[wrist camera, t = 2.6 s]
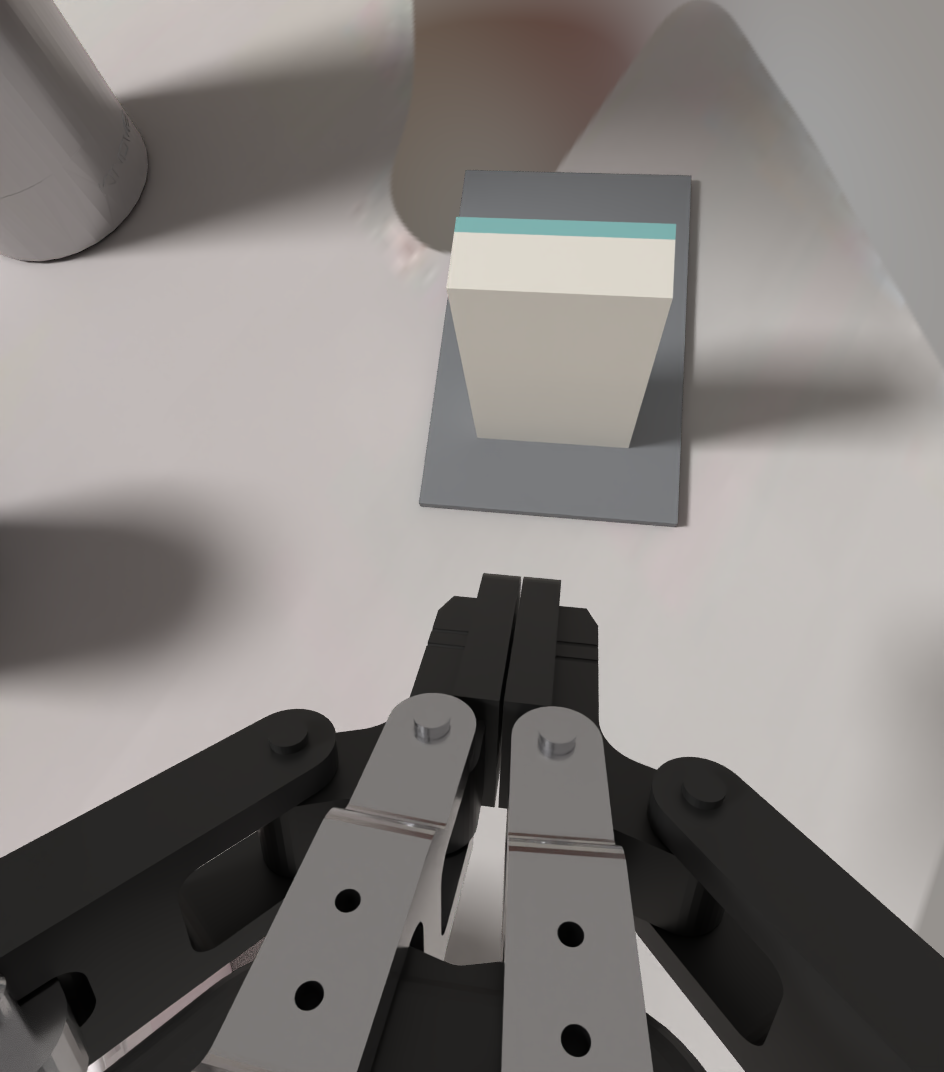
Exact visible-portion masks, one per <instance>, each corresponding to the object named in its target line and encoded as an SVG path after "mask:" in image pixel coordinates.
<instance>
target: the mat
mask: <svg viewBox="0 0 944 1072" xmlns="http://www.w3.org/2000/svg"><path fill="white" fill-rule="evenodd" d="M690 197H691V176H686V175H646V174H605V173H565V172H524V171H522V172H521V171H483V170H480V171H479V170H466V171H465V178H464V186H463V192H462V200H461V207H460V214H459V217H477V218H508V219H539V220H570V221H600V222H631V223H662V224H676V238H675V260H674V282H673V299H672V302H671V306H670V309H669V313H668V316H667V319H666V323H665V326H664V329H663V333H662V336H661V340H660V343H659V346H658V350H657V353H656V357H655V360H654V363H653V367H652V370H651V373H650V377H649V380H648V384H647V387H646V390H645V394H644V397H643V400H642V404H641V407H640V411H639V414H638V417H637V421H636V424H635V428H634V431H633V434H632V438H631V441H630V444H629V448H618V447H603V446H589V445H574V444H560V443H545V442H531V441H516V440H502V439H487V438H477V434H476V429H475V424H474V419H473V415H472V410H471V405H470V400H469V395H468V390H467V386H466V381H465V376H464V371H463V366H462V361H461V356H460V352H459V347H458V342H457V337H456V332H455V327H454V323H453V318H452V313H451V308H450V303H449V298H448V299H447V307H446V314H445V321H444V328H443V335H442V342H441V349H440V357H439V364H438V371H437V378H436V385H435V392H434V399H433V407H432V414H431V421H430V428H429V435H428V442H427V449H426V456H425V464H424V471H423V478H422V485H421V492H420V499H419V504H420V506H423V507H435V508H448V509H460V510H473V511H485V512H497V513H510V514H522V515H534V516H547V517H559V518H572V519H584V520H596V521H609V522H621V523H633V524H646V525H658V526H671V527H676V526H677V524H678V500H679V475H680V450H681V424H682V399H683V374H684V349H685V323H686V298H687V273H688V248H689V222H690Z"/></svg>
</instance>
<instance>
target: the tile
mask: <svg viewBox="0 0 944 1072" xmlns="http://www.w3.org/2000/svg"><path fill="white" fill-rule="evenodd" d="M675 238H676V224H662V223H631V222H600V221H570V220H539V219H508V218H477V217H456V224H455V231H454V238H453V245H452V252H451V259H450V266H449V273H448V280H447V287H446V289H447V294H448V298H449V303H450V308H451V313H452V318H453V323H454V327H455V332H456V337H457V342H458V347H459V352H460V356H461V361H462V366H463V371H464V376H465V381H466V386H467V390H468V395H469V400H470V405H471V410H472V415H473V419H474V424H475V429H476V434H477V438H487V439H502V440H516V441H531V442H545V443H560V444H574V445H589V446H603V447H618V448H629V444H630V441H631V438H632V434H633V431H634V428H635V424H636V421H637V417H638V414H639V411H640V407H641V404H642V400H643V397H644V394H645V390H646V387H647V384H648V380H649V377H650V373H651V370H652V367H653V363H654V360H655V357H656V353H657V350H658V346H659V343H660V340H661V336H662V333H663V329H664V326H665V323H666V319H667V316H668V313H669V309H670V306H671V302H672V299H673V282H674V260H675Z"/></svg>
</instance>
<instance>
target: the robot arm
mask: <svg viewBox="0 0 944 1072" xmlns="http://www.w3.org/2000/svg"><path fill="white" fill-rule="evenodd" d="M147 170H148V160H147V150H146V147H145V145H144V142H143V139H142V137H141V135H140V133H139V132H138V130H137V129H136V127H135V126H134V124H133V123H132V121H131V120H130V118H129V117H128V115H127V113H126V112H125V110H124V109H123V107H122V106H121V104H120V103H119V101H118V100H117V98H116V97H115V95H114V94H113V92H112V91H111V89H110V88H109V86H108V84H107V83H106V81H105V80H104V78H103V77H102V75H101V74H100V72H99V71H98V69H97V68H96V66H95V64H94V63H93V61H92V59H91V58H90V56H89V55H88V53H87V52H86V50H85V49H84V47H83V46H82V44H81V43H80V41H79V40H78V38H77V37H76V35H75V33H74V32H73V30H72V29H71V27H70V26H69V24H68V23H67V21H66V20H65V18H64V17H63V15H62V14H61V12H60V11H59V9H58V8H57V6H56V4H55V3H54V1H53V0H0V254H2V255H3V256H7V257H11V258H14V259H18V260H26V261H44V260H52V259H59V258H62V257H65V256H68V255H72V254H75V253H78V252H80V251H82V250H84V249H86V248H88V247H90V246H92V245H94V244H96V243H97V242H99V241H100V240H102V239H103V238H104V237H106V236H107V235H108V234H110V233H111V232H112V231H114V230H115V229H116V228H117V227H118V226H119V224H120V223H121V222H122V221H123V220H124V219H125V218H126V217H127V216H128V215H129V213H130V212H131V210H132V209H133V207H134V206H135V204H136V203H137V201H138V200H139V197H140V195H141V192H142V190H143V187H144V185H145V182H146V176H147ZM560 588H561V580H554V579H543V578H532V577H524V578H523V584H522V590H521V577H520V576H509V575H498V574H487V573H484V574H483V576H482V580H481V584H480V588H479V592H478V596H477V598H470V597H459V596H454V597H452V598H451V599H450V600H449V601H448V602H447V603H446V604H445V605H444V606H443V607H441V608H440V609H439V610H438V613H437V616H436V619H435V622H434V625H433V629H432V631H431V634H430V637H429V640H428V646H426V650H425V653H424V656H423V659H422V662H421V665H420V668H419V671H418V674H417V677H416V680H415V683H414V686H413V689H412V692H411V695H410V698H408V699H406V700H404V701H402V702H401V703H400V704H398V705H397V706H396V707H395V708H394V709H393V710H392V712H391V714H390V715H389V718H388V720H387V722H385V723H383V724H381V725H378V726H375V727H371V728H367V729H361V730H354V731H346V732H338V733H336V732H335V728H334V726H333V724H332V723H331V722H330V721H329V719H328V718H326V717H325V716H324V715H322V714H320V713H318V712H315V711H311V710H306V709H290V710H284V711H280V712H277V713H274V714H271V715H269V716H267V717H265V718H263V719H261V720H259V721H257V722H255V723H254V724H252V725H250V726H248V727H246V728H244V729H242V730H240V731H239V732H237V733H235V734H233V735H231V736H229V737H227V738H225V739H223V740H222V741H220V742H218V743H216V744H214V745H212V746H210V747H208V748H207V749H205V750H203V751H201V752H199V753H197V754H195V755H193V756H192V757H190V758H188V759H186V760H184V761H182V762H180V763H178V764H177V765H175V766H173V767H171V768H169V769H167V770H165V771H163V772H161V773H160V774H158V775H156V776H154V777H152V778H150V779H148V780H146V781H145V782H143V783H141V784H139V785H137V786H135V787H133V788H131V789H130V790H128V791H126V792H124V793H122V794H120V795H118V796H116V797H114V798H113V799H111V800H109V801H107V802H105V803H103V804H101V805H99V806H98V807H96V808H94V809H92V810H90V811H88V812H86V813H84V814H83V815H81V816H79V817H77V818H75V819H73V820H71V821H69V822H68V823H66V824H64V825H62V826H60V827H58V828H56V829H54V830H52V831H51V832H49V833H47V834H45V835H43V836H41V837H39V838H37V839H36V840H34V841H32V842H30V843H28V844H26V845H24V846H22V847H21V848H19V849H17V850H15V851H13V852H11V853H9V854H7V855H5V856H4V857H2V858H0V1072H87V1070H88V1066H90V1065H91V1064H92V1063H94V1062H95V1061H96V1060H98V1059H99V1058H101V1057H102V1056H103V1055H105V1054H106V1053H107V1052H109V1051H110V1050H111V1049H113V1048H114V1047H115V1046H117V1045H118V1044H120V1043H121V1042H122V1041H124V1040H125V1039H126V1038H128V1037H129V1036H130V1035H132V1034H133V1033H134V1032H136V1031H137V1030H139V1029H140V1028H141V1027H143V1026H144V1025H145V1024H147V1023H148V1022H149V1021H151V1020H152V1019H153V1018H155V1017H156V1016H158V1015H159V1014H160V1013H162V1012H163V1011H164V1010H166V1009H167V1008H168V1007H170V1006H171V1005H172V1004H174V1003H175V1002H177V1001H178V1000H179V999H181V998H182V997H183V996H185V995H186V994H187V993H189V992H190V991H191V990H193V989H194V988H196V987H197V986H198V985H200V984H201V983H202V982H204V981H205V980H206V979H208V978H209V977H211V976H212V975H213V974H215V973H216V972H217V971H219V970H220V969H221V968H223V967H224V966H225V965H227V964H228V963H230V962H231V961H232V960H234V959H235V958H236V957H238V956H239V955H240V954H242V953H243V952H244V951H246V950H247V949H249V948H250V947H251V946H253V945H254V944H255V943H257V942H258V941H259V940H261V939H262V938H263V937H265V936H266V937H265V939H264V941H263V943H262V945H261V947H260V949H259V952H258V954H257V956H256V958H255V960H254V961H252V962H250V963H248V964H246V965H244V966H242V967H240V968H238V969H237V970H235V971H233V972H232V973H230V974H229V975H227V976H225V977H224V978H222V979H221V980H219V981H218V982H217V983H215V984H214V985H212V986H211V987H210V988H209V989H207V990H206V991H205V992H203V993H202V994H201V995H200V996H198V997H197V998H196V999H195V1000H193V1001H192V1002H191V1003H190V1004H188V1005H187V1006H186V1007H184V1008H183V1009H182V1010H181V1011H179V1012H178V1013H177V1014H176V1015H174V1016H173V1017H172V1018H171V1019H169V1020H168V1021H167V1022H165V1023H164V1024H163V1025H162V1026H160V1027H159V1028H158V1029H157V1030H155V1031H154V1032H153V1033H152V1034H150V1035H149V1036H148V1037H146V1038H145V1039H144V1040H143V1041H141V1042H140V1043H139V1044H138V1045H136V1046H135V1047H134V1048H133V1049H131V1050H130V1051H129V1052H127V1053H126V1054H125V1055H124V1056H122V1057H121V1058H120V1059H119V1060H117V1061H116V1062H115V1063H114V1064H112V1065H111V1066H110V1067H108V1068H107V1069H106V1070H105V1071H103V1072H706V1070H705V1069H704V1068H703V1066H702V1065H701V1064H700V1062H699V1061H698V1060H697V1059H696V1058H695V1056H694V1055H693V1054H692V1053H691V1052H690V1051H689V1050H688V1049H687V1047H686V1046H685V1045H684V1044H683V1043H682V1042H681V1041H680V1040H679V1039H678V1038H677V1037H676V1036H675V1035H673V1034H672V1033H671V1032H670V1031H669V1030H668V1029H667V1028H666V1027H665V1026H663V1025H662V1024H661V1023H659V1022H658V1021H657V1020H655V1019H654V1018H653V1017H651V1016H650V1015H649V1014H647V1013H646V1011H645V1004H644V996H643V988H642V981H641V973H640V965H639V957H638V950H637V942H636V934H635V931H636V933H637V934H638V936H639V937H640V938H641V940H642V941H643V942H644V943H645V945H646V946H647V947H648V949H649V950H650V951H651V952H652V954H653V955H654V956H655V957H656V959H657V960H658V961H659V963H660V964H661V965H662V966H663V968H664V969H665V970H666V971H667V973H668V974H669V975H670V977H671V978H672V979H673V980H674V982H675V983H676V984H677V985H678V987H679V988H680V989H681V990H682V992H683V993H684V994H685V996H686V997H687V998H688V999H689V1001H690V1002H691V1003H692V1004H693V1006H694V1007H695V1008H696V1010H697V1011H698V1012H699V1013H700V1015H701V1016H702V1017H703V1018H704V1020H705V1021H706V1022H707V1024H708V1025H709V1026H710V1027H711V1029H712V1030H713V1031H714V1032H715V1034H716V1035H717V1036H718V1038H719V1039H720V1040H721V1041H722V1043H723V1044H724V1045H725V1046H726V1048H727V1049H728V1050H729V1051H730V1053H731V1054H732V1055H733V1057H734V1058H735V1059H736V1060H737V1062H738V1063H739V1064H740V1065H741V1067H742V1068H743V1069H744V1071H745V1072H944V958H943V957H942V956H941V955H940V954H939V953H938V952H936V951H935V950H934V949H933V948H932V947H931V946H930V945H928V944H927V943H926V942H925V941H924V940H923V939H922V938H921V937H919V936H918V935H917V934H916V933H915V932H914V931H913V930H912V929H910V928H909V927H908V926H907V925H906V924H905V923H904V922H903V921H901V920H900V919H899V918H898V917H897V916H896V915H895V914H893V913H892V912H891V911H890V910H889V909H888V908H887V907H886V906H884V905H883V904H882V903H881V902H880V901H879V900H878V899H876V898H875V897H874V896H873V895H872V894H871V893H870V892H869V891H867V890H866V889H865V888H864V887H863V886H862V885H861V884H860V883H858V882H857V881H856V880H855V879H854V878H853V877H852V876H850V875H849V874H848V873H847V872H846V871H845V870H844V869H843V868H841V867H840V866H839V865H838V864H837V863H836V862H835V861H833V860H832V859H831V858H830V857H829V856H828V855H827V854H826V853H824V852H823V851H822V850H821V849H820V848H819V847H818V846H817V845H815V844H814V843H813V842H812V841H811V840H810V839H809V838H807V837H806V836H805V835H804V834H803V833H802V832H801V831H800V830H798V829H797V828H796V827H795V826H794V825H793V824H792V823H790V822H789V821H788V820H787V819H786V818H785V817H784V816H783V815H781V814H780V813H779V812H778V811H777V810H776V809H775V808H774V807H772V806H771V805H770V804H769V803H768V802H767V801H766V800H764V799H763V798H762V797H761V796H760V795H759V794H758V793H757V792H755V791H754V790H753V789H752V788H751V787H750V786H749V785H748V784H746V783H745V782H744V781H743V780H742V779H741V778H740V777H738V776H737V775H736V774H735V773H733V772H732V771H731V770H729V769H728V768H726V767H724V766H723V765H720V764H718V763H716V762H713V761H710V760H707V759H703V758H697V757H681V758H676V759H673V760H670V761H668V762H666V763H664V764H663V765H662V766H660V767H659V768H658V770H656V769H653V768H651V767H648V766H645V765H643V764H640V763H638V762H635V761H633V760H631V759H629V758H627V757H625V756H624V755H622V754H621V753H619V752H618V751H617V750H615V749H614V748H613V747H612V746H611V745H610V744H609V743H608V741H607V740H606V739H605V737H604V736H603V734H602V732H601V729H600V726H599V695H598V625H597V624H596V622H595V621H594V619H593V618H592V616H591V615H590V613H589V611H588V610H587V609H585V608H574V607H564V606H559V601H560ZM520 590H521V597H520ZM499 773H500V787H499V807H498V808H506V809H507V823H506V839H505V858H504V885H503V911H502V938H501V962H494V963H484V964H475V965H466V966H457V965H452V964H449V963H447V962H445V961H444V958H445V953H446V949H447V945H448V941H449V937H450V933H451V929H452V925H453V922H454V918H455V914H456V910H457V906H458V902H459V899H460V895H461V891H462V887H463V883H464V879H465V876H466V872H467V868H468V864H469V860H470V856H471V853H472V848H473V836H474V834H475V832H476V828H477V825H478V819H479V813H480V807H481V806H489V807H495V800H496V793H497V787H498V780H499ZM257 830H258V831H257ZM255 831H256V832H255ZM254 832H255V833H254ZM252 833H253V834H252ZM251 834H252V835H251ZM249 835H250V836H249ZM248 836H249V837H248ZM246 837H247V838H246ZM244 838H245V839H244ZM243 839H244V840H243ZM241 840H242V841H241ZM240 841H241V842H240ZM238 842H239V843H238ZM235 844H236V845H235ZM233 845H234V846H233ZM232 846H233V847H232ZM230 847H231V848H230ZM229 848H230V849H229ZM227 849H228V850H227ZM225 850H226V851H225ZM224 851H225V852H224ZM222 852H223V853H222ZM221 853H222V854H221ZM219 854H220V855H219ZM218 855H219V856H218ZM216 856H217V857H216ZM214 857H215V858H214ZM213 858H214V859H213ZM211 859H212V860H211ZM210 860H211V861H210ZM208 861H209V862H208ZM205 863H206V864H205ZM203 864H204V865H203ZM202 865H203V866H202ZM200 866H201V867H200ZM199 867H200V868H199ZM197 868H198V869H197Z"/></svg>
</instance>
